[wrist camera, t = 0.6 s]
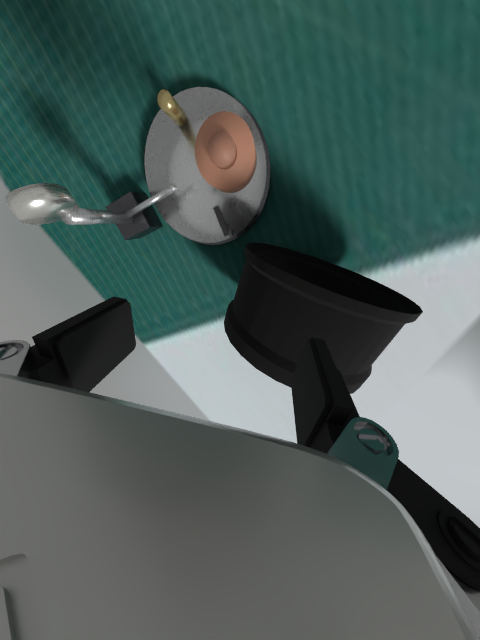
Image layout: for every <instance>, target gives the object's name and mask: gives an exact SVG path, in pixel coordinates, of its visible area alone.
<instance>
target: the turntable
mask: <svg viewBox="0 0 480 640" xmlns="http://www.w3.org/2000/svg"><path fill="white" fill-rule="evenodd" d="M158 104H159V106H160V108H161V109H160V110H159V112H158V113H157V115H156V117H155V118H154V120H153V122H152V125H151V127H150V130H149V133H148V136H147V141H146V146H145V158H144V159H145V174H146V180H147V184H148V188H149V191H150V194H151V197H152V196H153V195H155V194H157V193H158V192H160V191H162V190H164V189H165V188H167V187H169V186H170V184H175V185H176V186H177V191H176V192H175V193H173V192H172V193H171V194H170V195H168V196H166V197H164V198H163V199H161V200H159V201H158V202H156V203H154V204H155V206H156V207H157V209H158V211H159V212H160V214H161V215H162V217H163V218H164V219H165V220H166V222H167V223H168V224H169V225H170V226H171V227H172V228H173V229H174V230H176V231H177V232H179V233H180V234H181V235H183V236H185V237H187V238H189V239H192V240H194V241H198V242H204V243H215V242H220V241H223V240H226V239H229V238H231V237H233V236H235V235H237V234H238V233H239V232H241V231H242V230H243V229H244V228H245V227H246V226H247V225H248V224H249V223H250V222H251V220H252V219H253V218H254V216H255V214H256V213H257V211H258V209H259V207H260V205H261V202H262V199H263V196H264V191H265V186H266V177H267V167H266V157H265V151H264V146H263V142H262V139H261V136H260V133H259V131H258V129H257V127H256V125H255V122H254V121H253V119H252V118H251V116H250V115H249V113H248V112H247V111H246V109H245V108H244V107H243V106H242V105H241V104H240V103H239V102H238V101H237V100H235V99H234V98H233V97H231V96H230V95H228V94H227V93H225V92H222V91H220V90H218V89H214V88H209V87H195V88H189V89H186V90H184V91H181V92H179V93H178V94H176V95H174V96H173V97H172V95H171V94H170V93H169V92H168V91H167V90H165V89H163V90H161V91H160V92H159V94H158ZM222 111H228V112H232V113H235V114H236V115H238V116H240V117H241V118H242V119H243V120H244V121H245V122H246V124H247V125H248V127H249V129H250V131H251V133H252V136H253V140H254V144H255V149H256V154H257V164H256V169H255V173H254V175H253V177H252V179H251V181H250V182H249V184H248V185H247V186H246V187H245V188H243V189H242V190H240V191H238V192H235V193H226V192H222V191H220V190H218V189H217V188H215V187H213V186H211V185H210V184H209V183H208V182H207V181H206V180H205V179H204V178H203V177H202V175H201V173H200V171H199V169H198V166H197V163H196V159H195V142H196V138H197V134H198V132H199V129H200V127H201V126H202V124H203V123H204V121H205V120H206V119H207V118H209V117H210V116H211V115H213V114H215V113H217V112H222Z"/></svg>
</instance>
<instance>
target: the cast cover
mask: <svg viewBox="0 0 480 640" xmlns="http://www.w3.org/2000/svg"><path fill="white" fill-rule="evenodd" d="M195 159H196V163H197V166H198V169H199V171H200V173H201V175H202V177H203V178H204V179H205V180H206V181H207V182H208V183H209V184H210V185H211V186H213V187H215V188H217V189H218V190H220V191H222V192H226V193H235V192H238V191H240V190H242V189H243V188H245V187H246V186H247V185H248V184H249V182H250V181H251V179H252V177H253V175H254V173H255V169H256V164H257V154H256V149H255V144H254V140H253V136H252V133H251V131H250V129H249V127H248V125H247V124H246V122H245V121H244V120H243V119H242V118H241V117H240V116H238V115H236V114H235V113H232V112H228V111H222V112H217V113H215V114H213V115H211V116H210V117H209V118H207V119H206V120H205V121H204V123H203V124H202V126H201V127H200V129H199V132H198V134H197V138H196V142H195Z"/></svg>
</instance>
